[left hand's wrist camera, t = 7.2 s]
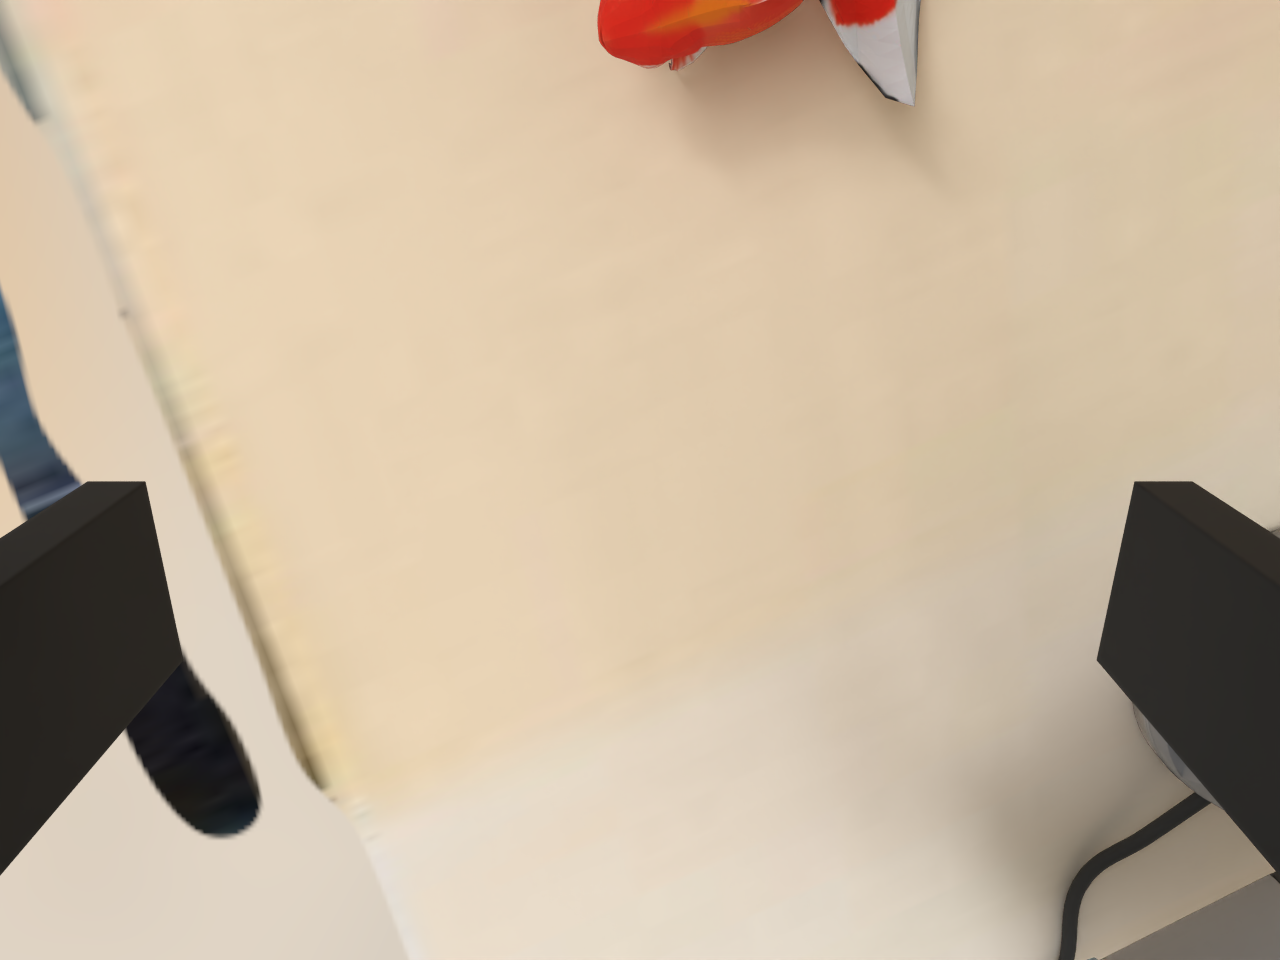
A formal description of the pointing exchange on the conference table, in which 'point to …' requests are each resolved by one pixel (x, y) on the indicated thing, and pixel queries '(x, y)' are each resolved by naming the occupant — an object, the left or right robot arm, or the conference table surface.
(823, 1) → the fish
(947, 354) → the conference table surface
